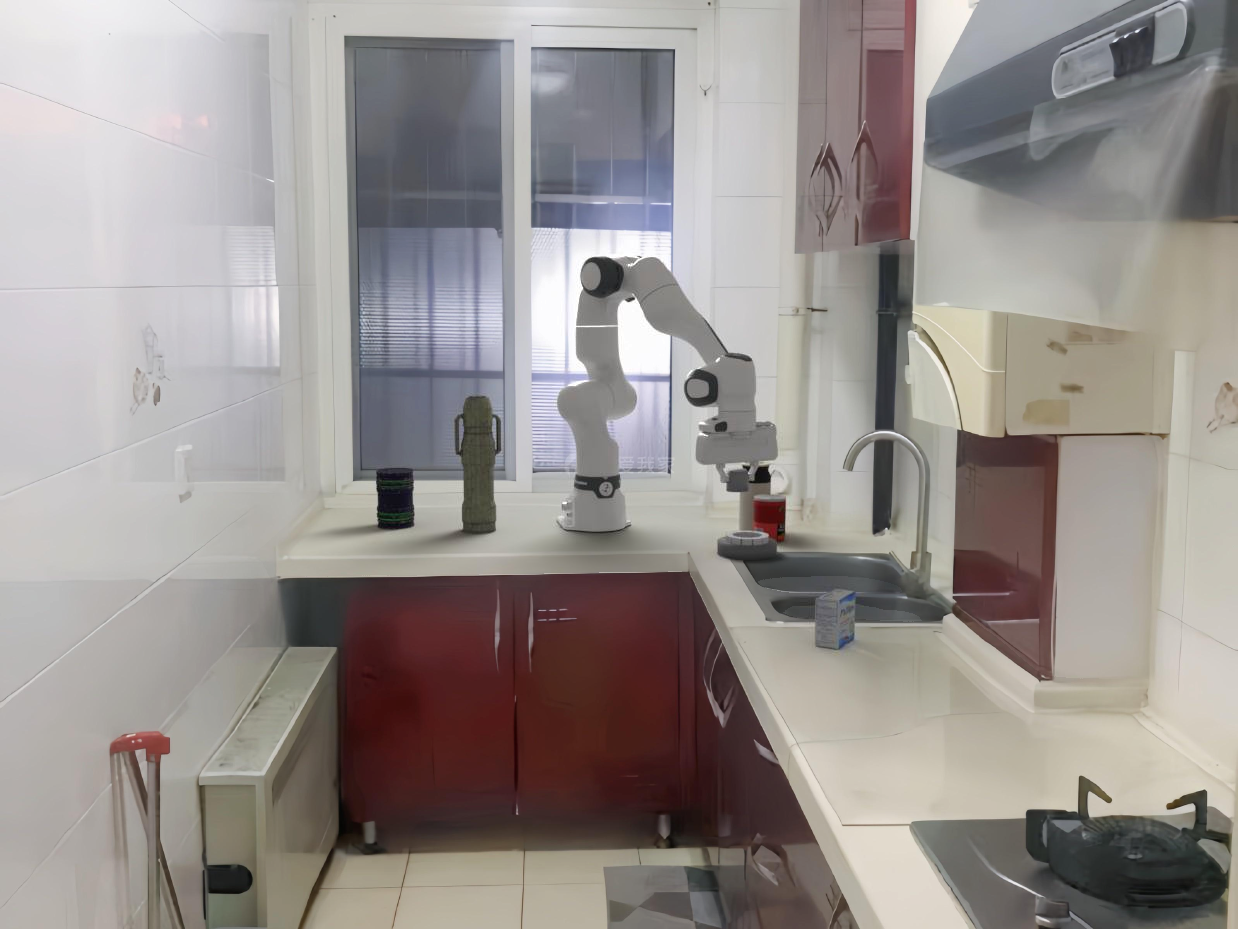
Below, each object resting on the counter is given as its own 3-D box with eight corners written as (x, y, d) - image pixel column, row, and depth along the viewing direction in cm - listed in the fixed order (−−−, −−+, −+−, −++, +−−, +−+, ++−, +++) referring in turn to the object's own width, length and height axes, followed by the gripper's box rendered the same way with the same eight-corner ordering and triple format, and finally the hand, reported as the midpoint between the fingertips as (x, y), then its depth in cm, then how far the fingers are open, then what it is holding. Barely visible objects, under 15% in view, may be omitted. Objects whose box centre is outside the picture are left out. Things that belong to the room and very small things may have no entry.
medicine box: (838, 650, 191) (839, 600, 190) (813, 646, 194) (815, 597, 193) (854, 639, 198) (856, 591, 197) (830, 635, 200) (832, 587, 199)
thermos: (506, 531, 292) (505, 396, 288) (462, 535, 288) (460, 398, 283) (496, 525, 300) (494, 394, 296) (453, 528, 296) (450, 395, 291)
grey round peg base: (707, 549, 271) (707, 531, 270) (758, 545, 276) (758, 527, 275) (734, 562, 258) (735, 542, 257) (787, 556, 263) (788, 538, 263)
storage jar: (422, 524, 301) (421, 469, 299) (396, 530, 293) (395, 474, 291) (395, 521, 306) (393, 466, 304) (369, 526, 298) (367, 471, 296)
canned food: (784, 543, 278) (785, 499, 277) (751, 542, 280) (752, 498, 278) (785, 537, 286) (787, 494, 284) (754, 536, 287) (755, 493, 286)
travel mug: (732, 530, 294) (733, 462, 292) (754, 527, 299) (756, 459, 297) (754, 535, 288) (755, 465, 286) (776, 531, 293) (777, 463, 290)
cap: (722, 490, 266) (722, 469, 265) (741, 488, 268) (741, 467, 267) (732, 492, 261) (732, 471, 261) (752, 491, 263) (752, 470, 262)
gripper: (769, 419, 269) (769, 477, 271) (692, 423, 262) (692, 482, 263) (782, 421, 264) (782, 480, 265) (704, 425, 256) (704, 486, 258)
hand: (737, 481), depth 264 cm, fingers closed on cap, 5 cm apart
